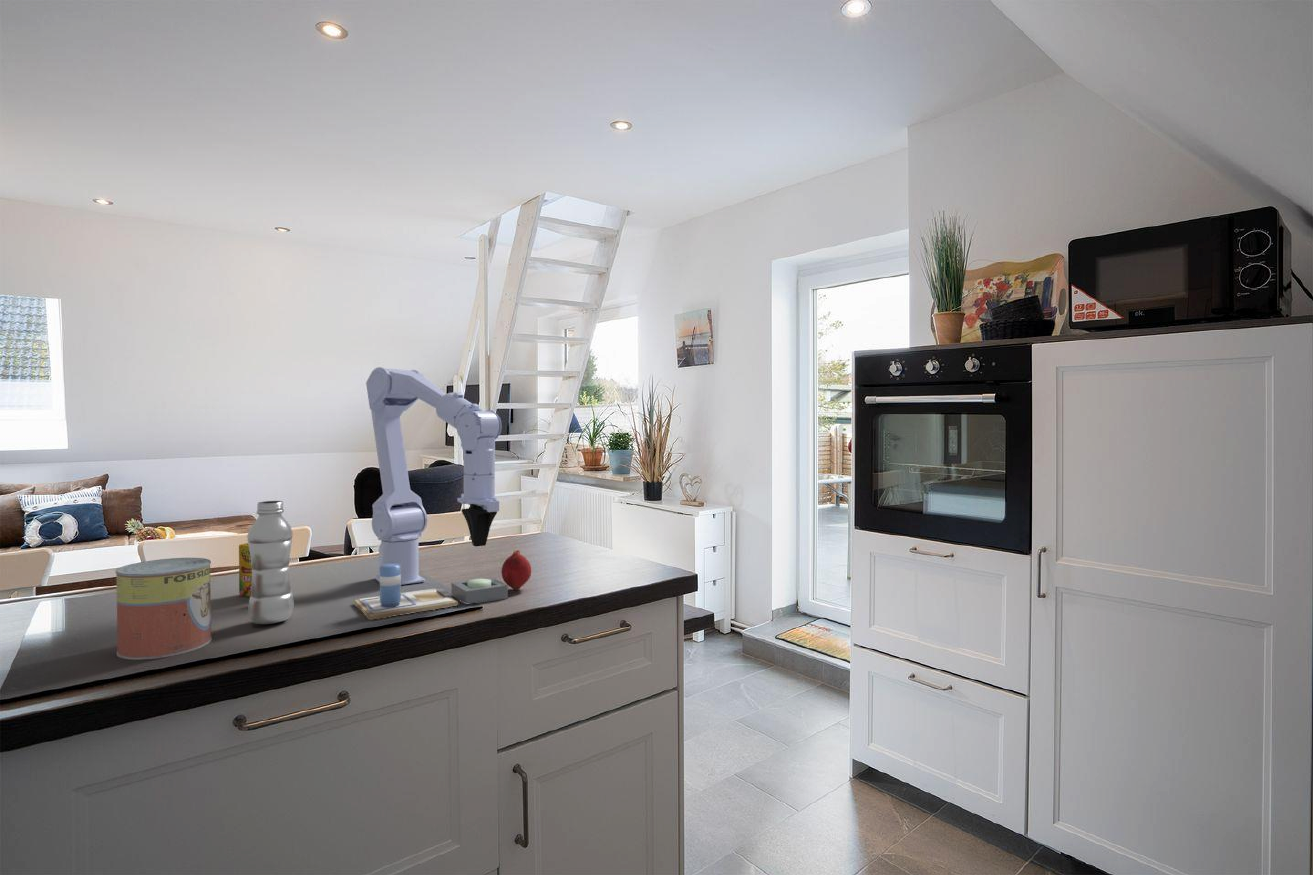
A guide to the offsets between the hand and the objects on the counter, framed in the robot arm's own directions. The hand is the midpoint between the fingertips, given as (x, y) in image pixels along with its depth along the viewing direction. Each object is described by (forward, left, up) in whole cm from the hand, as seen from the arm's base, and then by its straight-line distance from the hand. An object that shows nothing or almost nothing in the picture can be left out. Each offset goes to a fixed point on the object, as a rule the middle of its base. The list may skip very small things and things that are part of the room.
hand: (479, 545), depth 126 cm
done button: (0, 0, -9) cm, 9 cm away
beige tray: (-2, -13, -10) cm, 16 cm away
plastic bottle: (-4, -34, -10) cm, 36 cm away
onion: (-1, +8, -10) cm, 13 cm away
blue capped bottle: (0, -16, -9) cm, 18 cm away
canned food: (0, -48, -10) cm, 49 cm away
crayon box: (-24, -34, -10) cm, 43 cm away
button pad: (0, 0, -10) cm, 10 cm away
